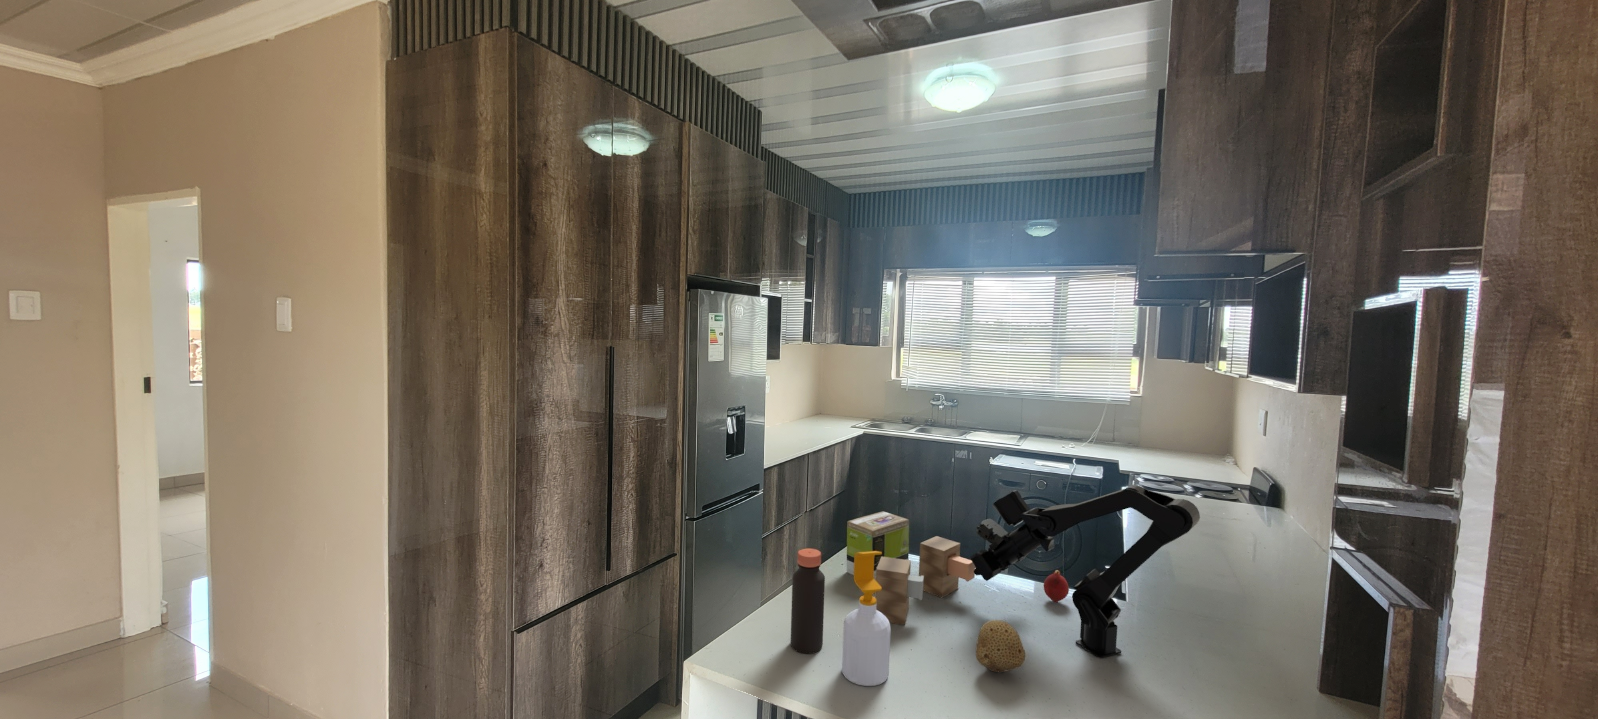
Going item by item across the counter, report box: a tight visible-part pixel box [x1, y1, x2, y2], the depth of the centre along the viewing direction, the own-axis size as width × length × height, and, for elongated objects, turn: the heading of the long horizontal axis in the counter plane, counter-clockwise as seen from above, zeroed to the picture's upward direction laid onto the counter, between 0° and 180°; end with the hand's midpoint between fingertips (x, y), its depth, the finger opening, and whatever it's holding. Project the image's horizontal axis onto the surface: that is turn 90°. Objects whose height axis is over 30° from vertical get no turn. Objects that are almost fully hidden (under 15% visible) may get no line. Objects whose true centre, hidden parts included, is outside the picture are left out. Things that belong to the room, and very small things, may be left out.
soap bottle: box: [841, 551, 892, 687], centre depth 116 cm, size 9×9×25 cm
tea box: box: [846, 510, 910, 581], centre depth 165 cm, size 15×10×15 cm, turn 130°
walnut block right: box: [918, 535, 961, 598], centre depth 155 cm, size 7×8×12 cm
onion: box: [1043, 569, 1070, 603], centre depth 150 cm, size 6×6×8 cm
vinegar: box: [790, 547, 826, 654], centre depth 125 cm, size 7×7×20 cm
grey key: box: [907, 574, 924, 601], centre depth 139 cm, size 8×3×4 cm, turn 74°
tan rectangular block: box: [947, 554, 976, 582], centre depth 152 cm, size 8×3×4 cm, turn 46°
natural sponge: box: [975, 619, 1026, 673], centre depth 118 cm, size 9×9×10 cm
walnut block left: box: [874, 557, 912, 626], centre depth 140 cm, size 7×8×12 cm
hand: (975, 572), depth 148 cm, fingers closed
